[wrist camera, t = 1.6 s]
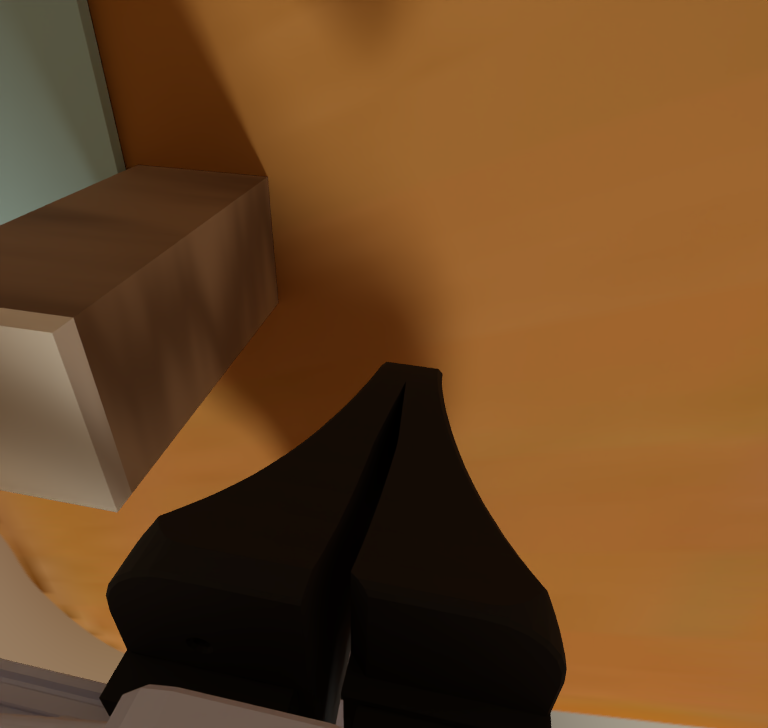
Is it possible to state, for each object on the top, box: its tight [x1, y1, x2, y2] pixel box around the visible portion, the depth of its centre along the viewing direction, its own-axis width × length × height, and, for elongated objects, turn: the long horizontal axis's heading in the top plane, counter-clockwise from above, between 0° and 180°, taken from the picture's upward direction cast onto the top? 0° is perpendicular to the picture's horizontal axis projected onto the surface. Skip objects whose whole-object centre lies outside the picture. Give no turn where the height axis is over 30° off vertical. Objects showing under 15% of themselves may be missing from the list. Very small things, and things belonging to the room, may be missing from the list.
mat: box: [0, 0, 126, 225], centre depth 21 cm, size 16×11×1 cm
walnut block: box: [0, 165, 278, 512], centre depth 16 cm, size 5×5×11 cm
